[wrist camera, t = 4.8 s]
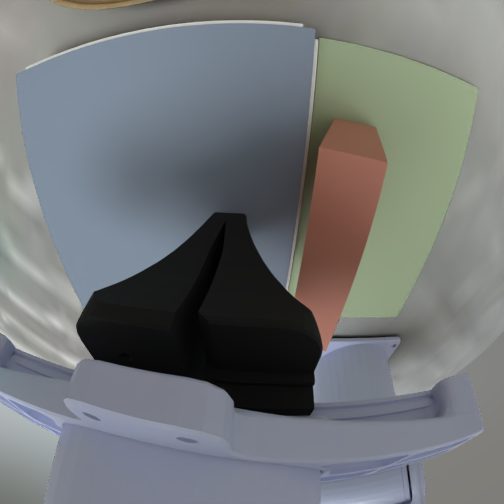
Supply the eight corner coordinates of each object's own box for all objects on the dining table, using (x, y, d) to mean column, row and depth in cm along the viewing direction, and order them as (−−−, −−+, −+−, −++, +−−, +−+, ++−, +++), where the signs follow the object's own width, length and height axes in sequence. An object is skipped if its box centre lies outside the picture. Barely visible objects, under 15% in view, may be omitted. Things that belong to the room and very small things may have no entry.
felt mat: (395, 313, 21) (396, 317, 20) (283, 311, 21) (283, 315, 21) (474, 87, 10) (478, 88, 9) (317, 38, 10) (319, 37, 9)
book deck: (278, 311, 21) (278, 344, 18) (105, 295, 21) (91, 322, 19) (309, 33, 10) (321, 24, 7) (50, 63, 10) (15, 71, 8)
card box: (310, 264, 17) (342, 272, 17) (285, 340, 13) (327, 351, 12) (334, 118, 12) (377, 127, 11) (318, 147, 7) (390, 164, 7)
